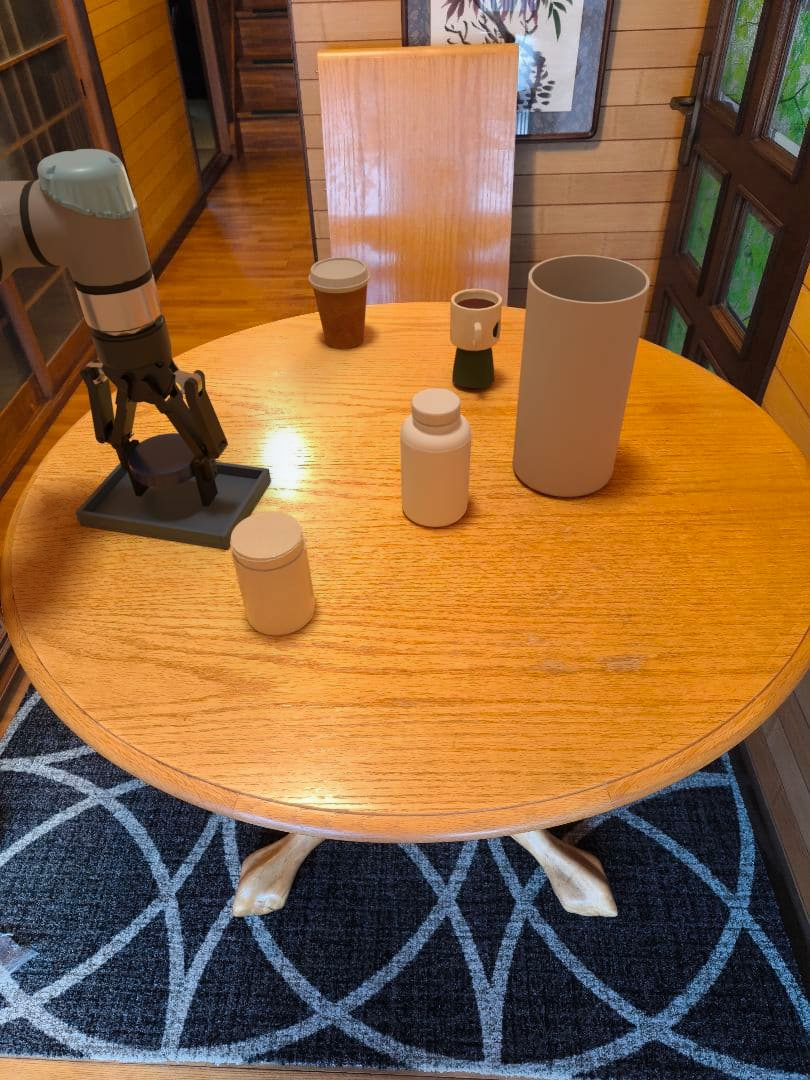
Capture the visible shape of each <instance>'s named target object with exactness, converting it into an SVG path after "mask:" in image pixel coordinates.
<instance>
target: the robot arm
mask: <svg viewBox="0 0 810 1080" xmlns="http://www.w3.org/2000/svg"><path fill="white" fill-rule="evenodd" d="M37 176H38V178H37V179H36V180H35V179H34V180H0V285H2V283H4V282H5V280H6V279H8V277H9V276H10V275H12V273H13V272H14V271H15V270H17V269H21V268H45V267H46V268H52V267H60V266H65V267H67V269H68V271H69V274H70V276H71V279H72V281H73V285H74V288H75V291H76V294H77V297H78V300H79V304H80V307H81V311H82V313H83V316H84V320H85V323H86V324H87V326H88V327H90V328H89V334H90V337H91V340H92V343H93V347H94V349H95V353H96V355H97V358H93V359H92V360H90V361H89V362H88V363H87V364H86V365H85V366H84V367H83V368H81V369H80V371H79V374H80V377H81V378H82V380H83V383H84V384H85V387H86V389H87V393H88V399H89V405H90V406H89V407H90V411H91V418H92V425H93V431H94V437H95V440H96V442H97V443H99V444H101V445H104V444H109V445H111V448H112V449H114V450H115V452H116V456H117V457H118V461H119V463H120V464H121V466H122V468H123V469H124V470H127V471H128V474H129V477H130V480H131V483H132V486H133V489H134V492H135V495H136V496H140V497H142V495H143V494H144V493H145V492H146V490H147V489H148V488H149V486H145V485H143V484H140V483H139V482H137V481H136V480H135V479H134V478H133V475H132V474H131V471H130V468H129V462H128V456H129V454H130V452H131V450H132V449H133V448H134V447H135V446H136V445H137V444H139V443H140V440H139V439H135V438H133V436H134V435H135V433H134V432H133V428H134V424H135V417H136V412H137V407H138V403H139V404H140V403H147V404H149V405H153V406H155V408H156V410H157V411H158V412H159V413H160V414H161V415H165V416H166V418H167V419H168V421H169V422H170V423H171V425H172V426H173V427H174V429H175V430H176V433H179V434H180V436H181V437H182V439H183V440H184V441H185V443H186V444H187V446H188V447H189V448H190V450H191V451H192V453H193V454H194V455H195V457H194V458H193V460H192V461H191V464H192V468H193V471H194V475H195V479H196V483H197V486H198V490H199V494H200V498H201V501H202V505H203V506H207V507H209V505H210V504H211V502H212V501H213V499H214V498H215V497H216V495H217V494H218V491H217V487H216V483H215V478H216V476H217V475H218V468H217V464H216V461H217V459H219V458H220V457H221V456H222V455H223V453H224V451H225V450H226V448H227V447H228V446H229V442H228V440H227V437H226V434H225V432H224V430H223V427H222V425H221V423H220V420H219V417H218V416H217V413H216V410H215V408H214V406H213V403H212V401H211V399H210V397H209V394H208V391H207V389H206V375H205V372H204V371H202V370H201V369H195V370H194V372H192V373H191V372H188V371H184V370H180V369H179V367H178V365H177V364H176V362H175V361H174V359H173V354H172V341H171V338H170V333H169V330H168V326H167V321H166V318H165V316H164V315H163V314H162V312H163V310H162V308H163V307H162V304H161V303H162V302H161V300H160V296H159V292H158V288H157V283H156V280H155V275H154V273H153V268H152V265H151V262H150V257H149V254H148V249H147V244H146V241H145V240H146V239H145V236H144V232H143V227H142V224H141V223H142V222H141V219H140V215H139V206H138V203H137V200H136V198H135V197H134V193H133V190H132V187H131V184H130V180H129V177H128V174H127V171H126V169H125V165H124V163H123V162H122V160H121V159H120V158H119V157H118V156H117V155H116V154H114V153H113V152H110V151H108V150H104V149H98V148H80V149H76V150H66V151H60V152H55V153H53V154H50V155H48V156H46V157H44V158H43V159H41V160H40V161H39V163H38V164H37ZM110 382H111V383H112V384H113V385H114V386H115V387H116V395H115V401H114V404H115V405H116V408H115V412H114V405H113V397H112V391H111V383H110ZM177 384H178V385H179V386H178V385H177ZM179 387H180V388H179ZM184 397H185V400H184ZM132 438H133V439H132ZM130 440H131V441H130Z"/></svg>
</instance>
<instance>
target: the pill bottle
mask: <svg viewBox="0 0 810 1080" xmlns="http://www.w3.org/2000/svg"><path fill="white" fill-rule="evenodd" d="M461 402H462V401H461V399H460V397H459V396H458V395H457V394H456V393H455V392H453V391H452V390H449V389H446V388H439V387H437V388H436V387H435V388H432V387H431V388H427V389H422V390H420V391H419V392H417V393H415V394H414V395H413V397H412V399H411V403H410V404H411V410H410V411H411V413H410V414H409V415H408V416H407V417H406V418H405V419H404V420H403V422H402V424H401V428H400V431H399V432H400V434H399V435H400V436H399V438H400V439H399V441H400V490H401V492H400V493H401V496H400V497H401V507H402V510H403V513H404V514H405V515H406V517H407V518H408V519H409V520H410V521H412V522H414V523H416V524H418V525H420V526H424V527H428V528H429V527H431V528H440V527H446V526H449V525H452V524H454V523H456V522H458V521H459V520H460V519H462V517H463V516H464V514H465V513H466V512H467V509H468V503H469V489H470V470H471V452H472V451H471V450H472V428H471V424H470V422H469V421H468V419H467V418H466V417H465V416H464V415H462V414H461V407H462V405H461Z"/></svg>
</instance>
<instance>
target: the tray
mask: <svg viewBox="0 0 810 1080" xmlns="http://www.w3.org/2000/svg"><path fill="white" fill-rule="evenodd" d="M216 464H217V468H218V475H217V476H216V478H215V483H216V487H217V491H218V494H217V495H216V497H215V498H214V499H213V501H212V502H211V504H210V505H209V507H207V506H203V505H202V501H201V498H200V494H199V490H198V486H197V483H196V479H195V476H194V477H193V478H191V479H189V480H188V481H186V482H183V483H181V484H178V485H174V486H169V487H149V488H148V489H147V490H146V492H145V493H144V494H143V495H142V497H140V496H136V495H135V492H134V489H133V486H132V483H131V480H130V477H129V474H128V471H127V470H124V469H123V468H122V466H121V464H120V462H119V463H118V464H117V465H116V467H114V469H113V470H112V471H111V472H110V473H109V474H108V475H107V477H106V478H105V479H104V480H103V481H102V482H101V483H100V484H99V485H98V486H97V487H96V489H95V490H94V491H93V492H92V493H91V494H90V495H89V497H88V498H86V500H85V501H84V502H83V503H82V504H81V505H80V506H79V508H78V509H77V510H76V511H75V512H74V514H75V516H76V519H77V521H78V524H79V526H81V527H86V528H87V527H88V528H95V529H99V530H106V531H112V532H119V533H125V534H129V535H137V536H143V537H149V538H155V539H161V540H167V541H172V542H178V543H179V542H180V543H184V544H191V545H198V546H202V547H209V548H215V549H221V550H229V549H230V548H231V545H230V541H231V534H232V531H233V530H234V528H235V527H236V526H237V525H238V524H239V523H240V522H241V521H242V520H244V519H245V518H247V517H249V516H251V514H252V512H253V511H254V509H255V507H256V506H257V505H258V504H259V501H260V500H261V498H263V497H262V496H263V495H264V494H265V491H267V489H268V487H269V485H270V484H271V483H272V477H271V472H270V468H268V467H261V466H253V465H245V464H244V465H243V464H237V463H232V462H223V461H217V460H216Z"/></svg>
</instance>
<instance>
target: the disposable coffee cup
mask: <svg viewBox="0 0 810 1080" xmlns="http://www.w3.org/2000/svg"><path fill="white" fill-rule="evenodd" d="M370 278H371V272H370V270H368V267H367V264H366V263H365V261H363V260H361V259H359V258H355V257H349V256H335V257H328V258H324V259H322V260H318V261H316V262H315V263H313V264H312V266H311V267H310V273H309V275H308V278H307V279H308V281H309V283H310V285H311V287H312V289H313V294H314V298H315V302H316V306H317V311H318V315H319V318H320V319H319V320H320V324H321V328H322V332H323V336H324V340H325V344H326V345H327V346H329V347H331V348H335V349H340V350H341V349H351V348H355V347H357V346H359V345H361V344H362V343H363V342H364V340H365V329H366V327H365V325H366V314H367V313H366V311H367V310H366V309H367V298H368V297H367V296H368V284H369V282H370Z"/></svg>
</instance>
